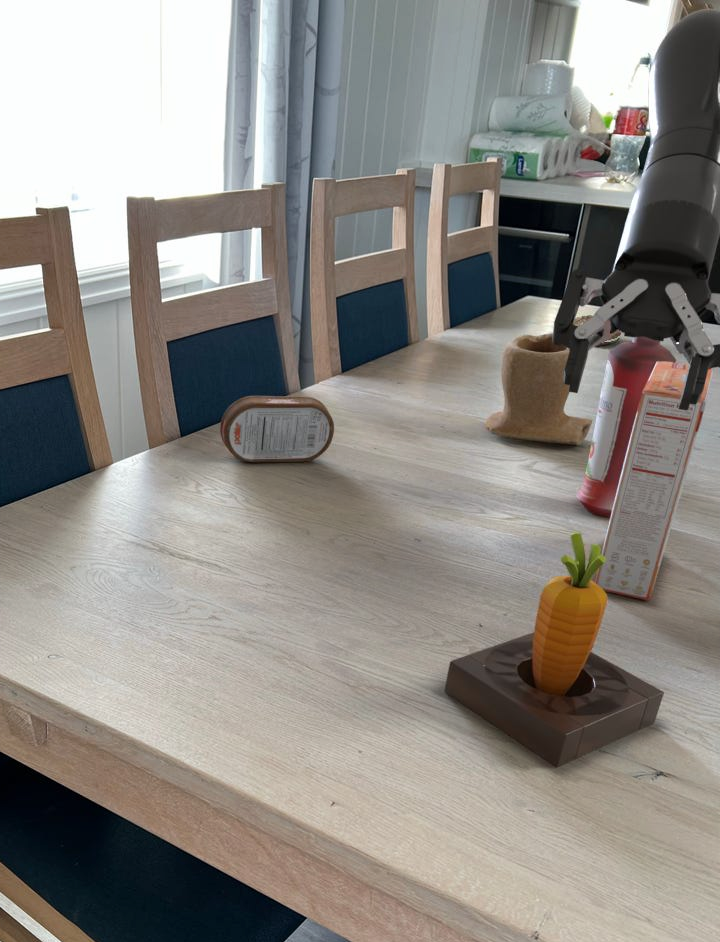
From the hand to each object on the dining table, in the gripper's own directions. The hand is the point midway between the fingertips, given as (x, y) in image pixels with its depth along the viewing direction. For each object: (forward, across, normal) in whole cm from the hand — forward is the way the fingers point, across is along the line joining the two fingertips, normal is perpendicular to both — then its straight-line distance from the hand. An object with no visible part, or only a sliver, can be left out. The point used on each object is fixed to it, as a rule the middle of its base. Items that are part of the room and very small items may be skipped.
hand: (628, 396), depth 78 cm
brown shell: (-84, -12, +118) cm, 145 cm away
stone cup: (-28, -11, +61) cm, 68 cm away
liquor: (-11, 0, +44) cm, 45 cm away
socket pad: (+25, 0, +8) cm, 26 cm away
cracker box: (+2, +4, +31) cm, 31 cm away
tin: (-7, -41, +40) cm, 58 cm away
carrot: (+25, 0, +8) cm, 26 cm away
